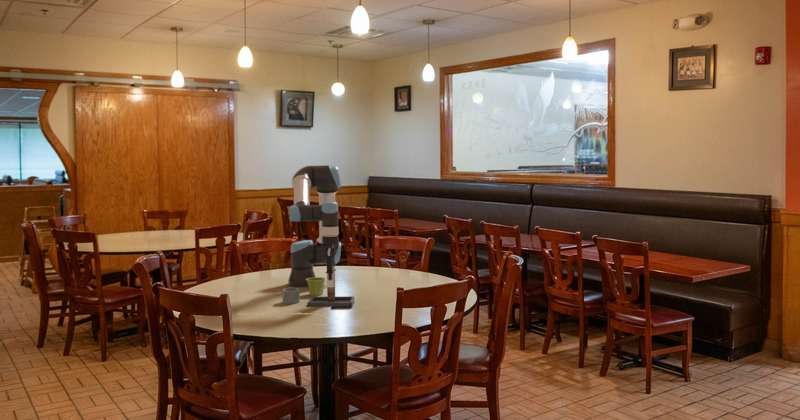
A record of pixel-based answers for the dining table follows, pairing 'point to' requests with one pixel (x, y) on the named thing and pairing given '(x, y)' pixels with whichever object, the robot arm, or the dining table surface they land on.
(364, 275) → the dining table surface
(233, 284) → the dining table surface
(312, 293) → the plant pot
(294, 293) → the cup
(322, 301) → the tray
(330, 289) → the dowel
